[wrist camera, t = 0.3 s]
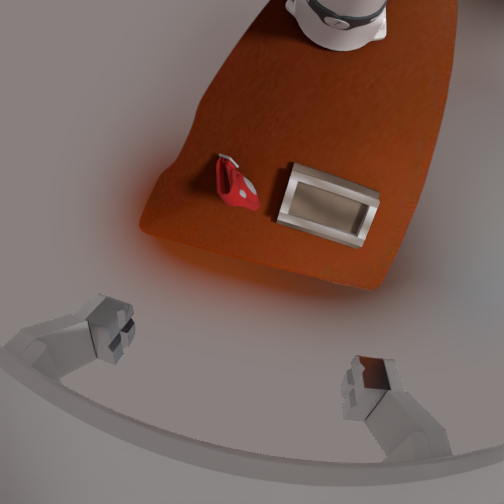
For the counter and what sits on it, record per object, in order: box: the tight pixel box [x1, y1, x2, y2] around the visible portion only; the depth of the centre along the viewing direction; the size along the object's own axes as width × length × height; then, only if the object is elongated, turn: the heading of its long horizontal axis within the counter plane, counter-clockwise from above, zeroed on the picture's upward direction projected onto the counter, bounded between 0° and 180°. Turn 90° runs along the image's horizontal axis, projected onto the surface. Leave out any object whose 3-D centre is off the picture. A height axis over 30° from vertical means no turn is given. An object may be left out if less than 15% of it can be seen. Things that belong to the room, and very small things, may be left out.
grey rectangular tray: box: [276, 162, 380, 249], centre depth 53 cm, size 12×17×3 cm
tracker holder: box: [216, 154, 260, 210], centre depth 50 cm, size 12×4×10 cm, turn 36°
